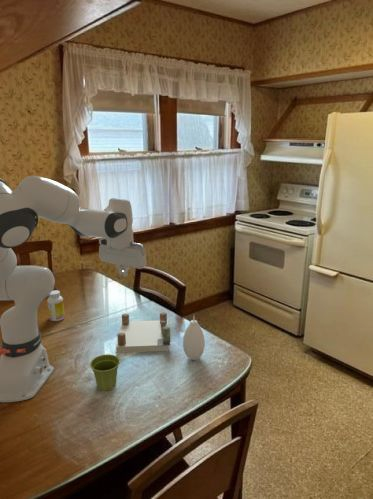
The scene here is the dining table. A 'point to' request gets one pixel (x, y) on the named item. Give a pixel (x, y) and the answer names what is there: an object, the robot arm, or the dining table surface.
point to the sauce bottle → (193, 340)
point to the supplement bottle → (55, 306)
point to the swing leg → (165, 332)
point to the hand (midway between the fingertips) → (123, 275)
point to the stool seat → (141, 335)
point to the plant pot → (105, 371)
